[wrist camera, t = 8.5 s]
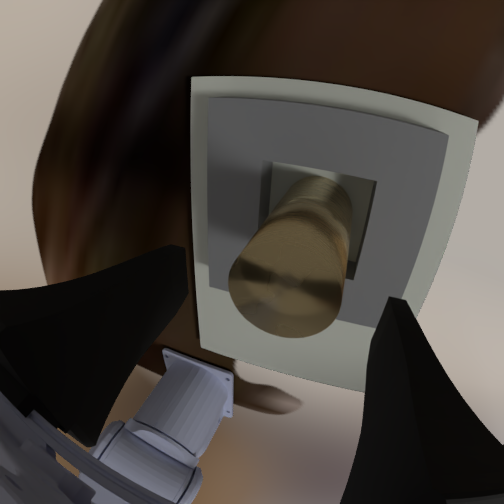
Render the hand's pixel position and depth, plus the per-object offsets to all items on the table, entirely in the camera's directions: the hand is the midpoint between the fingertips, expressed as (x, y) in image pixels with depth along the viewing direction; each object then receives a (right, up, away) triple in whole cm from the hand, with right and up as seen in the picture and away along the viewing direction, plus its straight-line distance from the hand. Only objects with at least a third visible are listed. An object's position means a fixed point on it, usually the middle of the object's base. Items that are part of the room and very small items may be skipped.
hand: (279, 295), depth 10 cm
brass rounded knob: (+3, +4, +7) cm, 8 cm away
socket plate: (+3, +1, +9) cm, 10 cm away
